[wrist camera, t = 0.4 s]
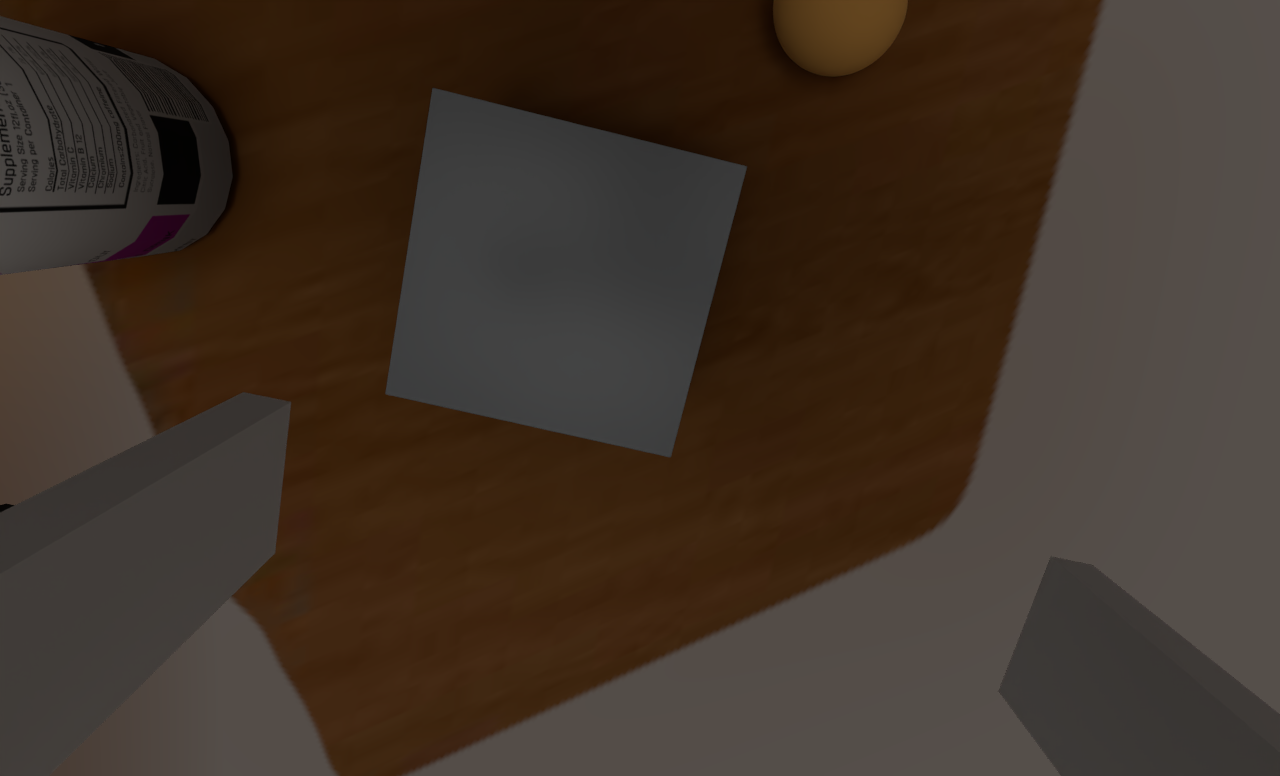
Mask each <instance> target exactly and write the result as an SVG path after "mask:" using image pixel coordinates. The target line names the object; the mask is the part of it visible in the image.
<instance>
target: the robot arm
mask: <svg viewBox="0 0 1280 776" xmlns="http://www.w3.org/2000/svg"><path fill="white" fill-rule="evenodd" d="M290 407H291V402H289V401H284V400H279V399H274V398H269V397H264V396H259V395H254V394H249V393H244V392H243V393H241V394H239V395H237V396H235V397H233V398H231V399H229V400H227V401H225V402H223V403H221V404H219V405H217V406H215V407H213V408H211V409H209V410H207V411H205V412H203V413H201V414H199V415H197V416H195V417H193V418H191V419H189V420H187V421H185V422H183V423H180V424H178V425H176V426H174V427H172V428H170V429H168V430H166V431H164V432H162V433H160V434H158V435H156V436H154V437H152V438H150V439H148V440H146V441H144V442H142V443H140V444H138V445H136V446H134V447H132V448H130V449H128V450H126V451H124V452H122V453H120V454H118V455H116V456H114V457H112V458H110V459H108V460H106V461H104V462H102V463H100V464H98V465H96V466H93V467H91V468H89V469H87V470H86V471H83V472H82V473H80V474H77V475H75V476H73V477H71V478H69V479H67V480H65V481H63V482H61V483H59V484H57V485H55V486H53V487H51V488H49V489H47V490H45V491H43V492H41V493H39V494H37V495H35V496H33V497H31V498H29V499H27V500H25V501H23V502H21V503H19V504H17V505H10V504H4V505H0V776H49V775H50V774H51V773H52V772H53V771H54V770H55V769H56V768H57V767H58V766H59V765H60V764H61V763H62V762H63V761H64V760H65V759H66V758H67V757H69V756H70V755H71V753H72V752H73V751H75V750H76V749H77V748H78V747H79V746H80V745H81V744H82V743H83V742H84V741H85V740H86V739H87V738H88V737H89V736H90V735H91V734H92V733H93V732H94V731H95V730H96V729H97V728H98V727H99V726H100V725H101V724H102V723H103V722H104V721H105V720H106V719H107V718H108V717H109V716H110V715H111V714H112V713H113V712H114V711H115V710H116V709H117V708H118V707H119V706H120V705H121V704H122V703H123V702H124V701H125V700H126V699H127V698H128V697H129V696H130V695H131V694H132V693H133V692H134V691H135V690H136V689H138V687H139V686H141V685H142V684H143V683H144V682H145V681H146V680H147V679H148V677H150V676H151V675H152V674H153V673H154V672H155V671H156V670H157V669H158V668H159V667H160V666H161V665H162V664H163V663H164V662H165V661H166V660H167V659H168V658H169V657H170V656H171V655H172V654H173V653H174V652H175V651H176V650H177V649H178V648H179V647H180V646H181V645H182V644H183V643H184V642H185V641H186V640H187V639H188V638H189V637H190V636H191V635H192V634H193V633H194V632H195V631H196V630H197V629H198V628H199V627H200V626H201V625H202V624H203V623H205V622H206V621H207V619H209V618H210V616H211V615H213V614H214V613H215V612H216V611H217V610H218V609H219V608H220V607H221V606H222V605H223V604H224V603H225V602H226V601H227V600H228V599H229V598H230V597H231V596H232V595H233V594H234V593H235V592H236V591H237V590H238V589H239V588H240V587H241V586H242V585H243V584H244V583H245V582H246V581H247V580H248V579H249V578H250V577H251V576H252V575H253V574H254V573H255V572H256V571H257V570H258V569H259V568H260V567H261V566H262V565H263V564H264V563H265V562H266V561H267V560H268V559H269V558H270V557H271V556H273V555H274V554H275V547H276V538H277V529H278V519H279V510H280V501H281V491H282V482H283V472H284V463H285V454H286V444H287V435H288V426H289V416H290ZM999 693H1000V694H1001V695H1002V696H1003V698H1004V699H1005V701H1006V702H1007V703H1008V705H1009V706H1010V707H1011V709H1012V710H1013V711H1014V713H1015V714H1016V715H1017V717H1018V718H1019V720H1020V721H1021V722H1022V724H1023V725H1024V726H1025V728H1026V729H1027V730H1028V732H1029V733H1030V734H1031V736H1032V737H1033V738H1034V740H1035V741H1036V742H1037V744H1038V745H1039V747H1040V748H1041V749H1042V751H1043V752H1044V753H1045V755H1046V756H1047V757H1048V759H1049V760H1050V761H1051V763H1052V764H1053V765H1054V767H1055V768H1056V769H1057V771H1058V772H1059V774H1060V775H1061V776H1280V714H1279V713H1277V712H1276V711H1275V710H1274V709H1272V708H1271V707H1270V706H1268V705H1267V704H1266V703H1265V702H1264V701H1262V700H1261V699H1260V698H1259V697H1257V696H1256V695H1255V694H1254V693H1252V692H1251V691H1250V690H1248V689H1247V688H1246V687H1245V686H1243V685H1242V684H1241V683H1240V682H1239V681H1237V680H1236V679H1235V678H1234V677H1232V676H1231V675H1230V674H1229V673H1227V672H1226V671H1225V670H1223V669H1222V668H1221V667H1220V666H1218V665H1217V664H1216V663H1215V662H1213V661H1212V660H1211V659H1210V658H1208V657H1207V656H1206V655H1205V654H1203V653H1202V652H1201V651H1200V650H1198V649H1197V648H1196V647H1195V646H1193V645H1192V644H1191V643H1190V642H1188V641H1187V640H1186V639H1185V638H1183V637H1182V636H1181V635H1180V634H1178V633H1177V632H1175V630H1173V629H1172V628H1171V627H1169V626H1168V625H1167V624H1166V623H1165V622H1163V621H1162V620H1161V619H1160V618H1158V617H1157V616H1156V615H1154V614H1153V613H1152V612H1151V611H1149V610H1148V609H1147V608H1146V607H1144V606H1143V605H1142V604H1140V603H1139V602H1138V601H1137V600H1135V599H1134V598H1133V597H1132V596H1131V595H1129V594H1128V593H1127V592H1126V591H1124V590H1123V589H1122V588H1121V587H1119V586H1118V585H1117V584H1116V583H1114V582H1113V581H1112V580H1111V579H1109V578H1108V577H1107V576H1106V575H1104V574H1103V573H1102V572H1101V571H1099V570H1098V569H1097V568H1096V567H1094V566H1093V565H1090V564H1085V563H1080V562H1075V561H1071V560H1065V559H1061V558H1056V557H1051V558H1050V560H1049V563H1048V565H1047V568H1046V570H1045V573H1044V575H1043V578H1042V581H1041V583H1040V586H1039V588H1038V591H1037V593H1036V596H1035V599H1034V601H1033V604H1032V606H1031V609H1030V611H1029V614H1028V616H1027V619H1026V622H1025V624H1024V627H1023V630H1022V632H1021V634H1020V637H1019V640H1018V642H1017V645H1016V647H1015V650H1014V652H1013V655H1012V658H1011V660H1010V663H1009V665H1008V668H1007V670H1006V673H1005V676H1004V678H1003V681H1002V683H1001V686H1000V689H999Z"/></svg>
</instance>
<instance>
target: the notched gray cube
mask: <svg viewBox="0 0 1280 776" xmlns="http://www.w3.org/2000/svg"><path fill="white" fill-rule="evenodd" d="M746 168H747V166H743V165H739V164H735V163H731V162H727V161H723V160H719V159H715V158H711V157H707V156H703V155H699V154H695V153H691V152H687V151H683V150H679V149H675V148H671V147H667V146H663V145H659V144H655V143H651V142H647V141H643V140H639V139H635V138H631V137H627V136H623V135H619V134H615V133H611V132H607V131H603V130H599V129H595V128H591V127H587V126H583V125H579V124H575V123H571V122H567V121H563V120H559V119H555V118H551V117H547V116H543V115H539V114H535V113H531V112H527V111H523V110H519V109H515V108H511V107H507V106H503V105H499V104H495V103H491V102H487V101H483V100H479V99H475V98H471V97H467V96H463V95H459V94H455V93H451V92H447V91H443V90H439V89H435V88H432V95H431V101H430V108H429V114H428V121H427V127H426V134H425V140H424V147H423V153H422V160H421V166H420V173H419V179H418V186H417V192H416V199H415V205H414V212H413V218H412V225H411V231H410V238H409V244H408V251H407V257H406V264H405V270H404V277H403V283H402V290H401V296H400V303H399V309H398V316H397V322H396V329H395V335H394V342H393V348H392V355H391V361H390V368H389V374H388V381H387V387H386V394H388V395H392V396H397V397H401V398H406V399H410V400H415V401H419V402H424V403H428V404H433V405H437V406H442V407H446V408H451V409H455V410H460V411H464V412H469V413H473V414H478V415H482V416H487V417H491V418H496V419H500V420H505V421H509V422H514V423H518V424H523V425H527V426H532V427H536V428H541V429H545V430H550V431H554V432H559V433H563V434H568V435H572V436H577V437H581V438H586V439H590V440H595V441H599V442H604V443H608V444H613V445H617V446H622V447H626V448H631V449H635V450H640V451H644V452H649V453H653V454H658V455H662V456H667V457H671V454H672V450H673V446H674V443H675V439H676V435H677V431H678V427H679V423H680V420H681V416H682V412H683V408H684V404H685V401H686V397H687V393H688V389H689V385H690V382H691V378H692V374H693V370H694V366H695V363H696V359H697V355H698V351H699V347H700V344H701V340H702V336H703V332H704V328H705V325H706V321H707V317H708V313H709V309H710V306H711V302H712V298H713V294H714V290H715V286H716V283H717V279H718V275H719V271H720V267H721V264H722V260H723V256H724V252H725V248H726V245H727V241H728V237H729V233H730V229H731V226H732V222H733V218H734V214H735V210H736V207H737V203H738V199H739V195H740V191H741V188H742V184H743V180H744V176H745V172H746Z"/></svg>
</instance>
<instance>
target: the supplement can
mask: <svg viewBox="0 0 1280 776" xmlns="http://www.w3.org/2000/svg"><path fill="white" fill-rule="evenodd" d="M232 178H233V175H232V166H231V157H230V148H229V141H228V139H227V137H226V134H225V132H224V130H223V128H222V126H221V123H220V121H219V119H218V117H217V115H216V113H215V110H214V108H213V107H212V105H211V104H210V103H209V102H208V101H207V100H206V99H205V98H204V96H203V95H202V94H201V93H200V92H199V91H198V90H197V89H196V87H195V86H194V85H193V84H192V83H191V82H190V81H189V80H188V79H187V78H186V77H184V76H183V75H181V74H179V73H178V72H176V71H174V70H173V69H171V68H169V67H168V66H166V65H164V64H163V63H161V62H159V61H158V60H156V59H154V58H150V57H147V56H143V55H139V54H136V53H132V52H128V51H125V50H121V49H117V48H114V47H110V46H107V45H103V44H99V43H96V42H92V41H88V40H85V39H81V38H78V37H74V36H70V35H67V34H63V33H59V32H56V31H52V30H48V29H45V28H41V27H38V26H34V25H30V24H27V23H23V22H19V21H16V20H12V19H8V18H5V17H1V16H0V275H3V274H11V273H18V272H26V271H33V270H41V269H49V268H56V267H64V266H71V265H79V264H87V263H94V262H102V261H110V260H117V259H125V258H132V257H140V256H148V255H154V254H160V253H167V252H173V251H179V250H182V249H183V248H185V247H187V246H188V245H190V244H192V243H193V242H195V241H197V240H198V239H200V238H202V237H203V236H205V235H207V233H208V232H209V231H210V229H211V228H212V226H213V225H214V224H215V222H216V221H217V219H218V218H219V217H220V215H221V214H222V212H223V211H224V210H225V207H226V203H227V199H228V194H229V190H230V186H231V182H232Z"/></svg>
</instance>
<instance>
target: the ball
mask: <svg viewBox="0 0 1280 776" xmlns="http://www.w3.org/2000/svg"><path fill="white" fill-rule="evenodd" d="M907 6H908V0H774V2H773V21H774V27H775V31H776V35H777V38H778V40H779V42H780V44H781V46H782V48H783V50H784V51H785V53H786V54H787V55H788V56H789V58H790V59H791V60H792V61H794V62H795V63H796V64H797V65H798V66H800V67H801V68H803V69H805V70H807V71H809V72H811V73H814V74H817V75H822V76H831V77H836V76H844V75H848V74H852V73H855V72H857V71H860V70H862V69H864V68H866V67H868V66H869V65H871V64H872V63H873V62H875V61H876V60H877V59H879V58H880V57H881V56H882V55H883V54H884V53H885V52H886V51H887V50H888V48H889V47H890V46H891V45H892V43H893V42H894V40H895V39H896V37H897V35H898V33H899V31H900V29H901V27H902V25H903V22H904V19H905V16H906V12H907Z"/></svg>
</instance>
